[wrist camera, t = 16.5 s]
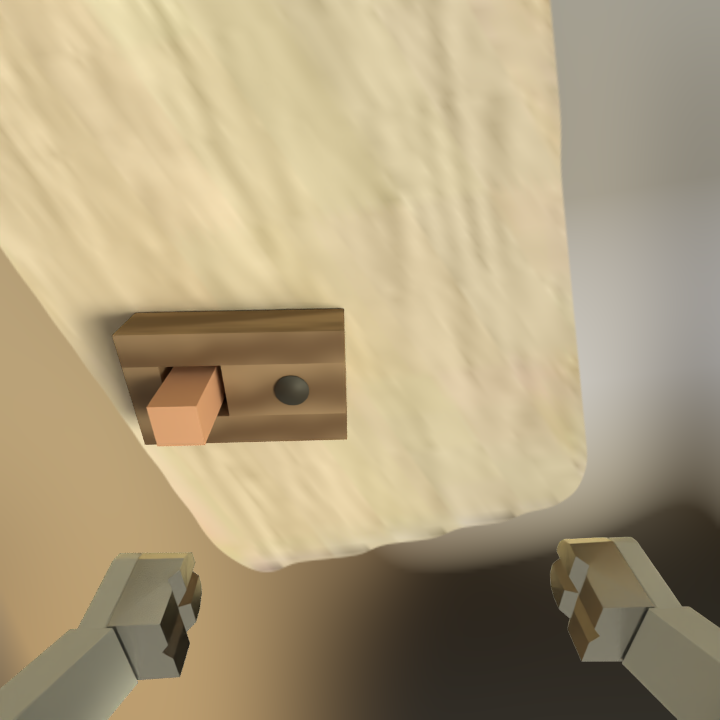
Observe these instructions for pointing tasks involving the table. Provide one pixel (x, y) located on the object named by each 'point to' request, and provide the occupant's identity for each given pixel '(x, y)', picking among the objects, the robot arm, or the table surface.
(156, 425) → the square peg
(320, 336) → the socket block
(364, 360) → the table surface
